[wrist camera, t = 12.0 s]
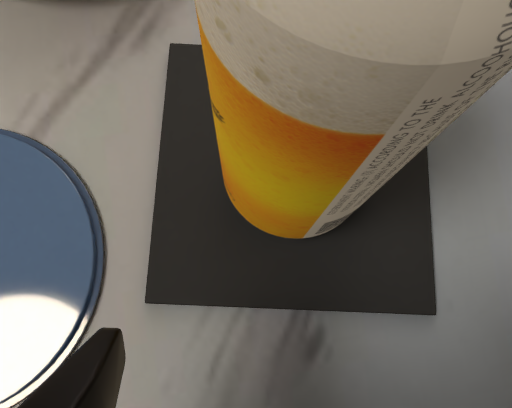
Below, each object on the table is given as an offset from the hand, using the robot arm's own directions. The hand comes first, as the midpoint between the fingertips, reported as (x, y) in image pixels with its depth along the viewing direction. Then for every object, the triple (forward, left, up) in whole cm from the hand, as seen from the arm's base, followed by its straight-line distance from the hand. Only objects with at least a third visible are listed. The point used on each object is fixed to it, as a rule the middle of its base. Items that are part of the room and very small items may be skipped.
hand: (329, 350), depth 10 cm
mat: (+7, -2, -9) cm, 11 cm away
